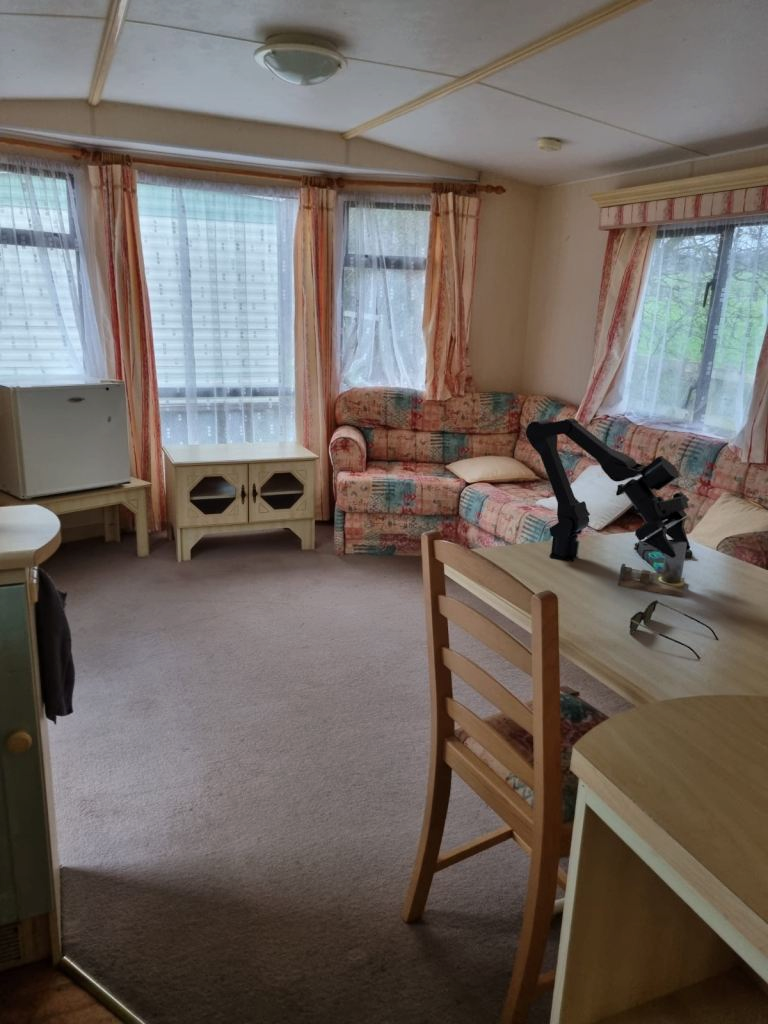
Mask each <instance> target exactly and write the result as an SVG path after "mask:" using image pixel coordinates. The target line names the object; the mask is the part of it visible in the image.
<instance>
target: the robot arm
mask: <svg viewBox="0 0 768 1024" xmlns="http://www.w3.org/2000/svg"><path fill="white" fill-rule="evenodd" d="M559 435H565V436H566V437H567V438H568V439H570V440H571V441H572V442H574V443H575V444H576V445H577V446H578V447H579V448H581V449H582V450H583V451H585V452H586V453H587V454H588V455H590V456H591V457H592V458H594V459H595V460H596V461H597V463H598V464H599V465H600V468H601V470H602V471H603V472H604V473H605V475H607V477H609V479H610V480H611V481H613V482H616V483H617V482H623V481H625V480H628V481H627V482H626V483H624V484H622V483H621V484H618V485H617V489H616V493H615V496H617V497H618V496H622V495H624V494H625V495H626V496H627V498H628V499H629V501H630V502H631V504H632V506H634V508H635V510H634V511H633V512H634V513H635V515H640V517H641V518H642V519H643V521H644V522H645V523H644V524H643V525H641V526H639V527H638V528H637V529H635V533H634V535H635V537H636V538H637V540H638V542H639V541H643V542H644V543H647V544H649V545H651V546H653V547H655V548H657V549H658V550H660V551H662V552H663V553H665V554H667V555H668V556H670V557H671V558H674V557H675V556H676V554H675V552H674V550H673V548H672V546H671V544H670V542H669V540H670V539H674V540H681V541H684V542H686V543H687V547H686V550H688V549H690V548H691V545H690V542H689V539H688V536H687V533H686V530H685V523H686V521H687V516H688V514H687V513H686V511H685V510H686V509H689V508H690V506H689V504H688V502H690V498H689V497H687V495H686V494H684V493H683V492H682V491H680V492H676V493H673V495H672V497H671V498H669V499H664V498H663V497H662V496H660V495H659V496H657V495H656V494H655V493H654V491H653V490H656V491H661V489H663V488H664V487H666V486H667V485H669V484H671V483H672V482H674V481H675V480H677V479H678V478H679V476H680V474H679V471H678V470H677V469H678V468H677V467H676V466H675V464H672V463H671V461H669V460H667V459H666V458H665V457H663V455H660V456H657V457H656V458H654V459H653V461H652V462H650V463H649V464H647V465H645V464H642V463H638V462H637V460H635V459H634V458H632V457H631V456H629V455H627V454H625V453H624V452H621V451H619V450H616V449H613V448H611V447H610V446H608V445H607V444H606V443H605V442H603V441H602V440H601V439H600V438H598V437H597V436H596V435H595V434H593V433H592V432H591V431H589V430H588V429H586V427H584V426H583V425H582V424H581V423H579V421H578V420H577V419H575V418H572V417H570V418H565V419H564V418H563V419H562V420H559V421H551V420H549V419H541V420H536V421H531V422H530V423H529V424H528V425H527V426H526V428H525V436H526V438H527V440H528V442H529V444H530V445H531V447H532V449H533V450H535V451H536V453H538V455H539V457H540V460H541V462H542V464H543V467H544V469H545V472H546V475H547V478H548V480H549V483H550V486H551V488H552V491H553V495H554V497H555V499H556V502H557V507H556V508H557V511H556V516H557V517H556V518H557V521H558V522H557V523H555V524H554V525H552V527H550V528H549V534H550V537H552V541H551V542H552V543H551V550H550V551H551V552H550V554H549V558H552V557H553V559H558V558H559V559H558V560H564V559H566V560H565V561H569V560H573V561H574V560H575V559H576V558H577V557H578V555H579V549H580V540H578V538H579V535H581V534H582V531H583V530H584V529H586V528H587V527H588V525H589V523H590V517H589V516H590V515H591V513H590V512H589V511H588V509H587V504H586V502H585V501H584V500H583V501H581V502H580V501H579V500H578V498H576V497H575V494H574V492H573V489H572V486H571V484H570V480H569V478H568V475H567V473H566V470H565V467H564V464H563V462H562V459H561V456H560V453H559V451H558V436H559ZM639 476H641V477H639ZM635 477H636V478H637V477H639V478H638V479H636V478H635ZM629 479H630V480H629ZM667 536H668V537H670V539H668V537H667ZM574 558H575V559H574Z"/></svg>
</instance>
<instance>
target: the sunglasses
mask: <svg viewBox="0 0 768 1024" xmlns="http://www.w3.org/2000/svg"><path fill="white" fill-rule="evenodd" d="M648 604H649V605H647V607H646V608H645V609H644V611H643V612H642V611H637V612H636V613H635V614H633V615H632V616H631V618H630V620H629V622H630V623H629V635H631V634H632V632H633V631H634V632H636V631H637V630H638V627H639V626H640V627H642V628H644V629H646V630H648V631H650V632H651V633H652V632H653V633H654V634H656V635H659V636H661V637H663V638H665V639H668V640H670V641H673V642H675V643H676V644H679V645H682V646H683V647H686V648H688V649H689V650H690V651H691V652H692V653H693V654H694V655H695V656H696V657H697V659H701V657H700V655H699V654H698V653H697V652H696V651H695V650H694V649H693V648H692V647H691V646H689V645H687V644H685V643H683V642H681V641H678V640H676V639H674V638H672V637H669V636H667V635H664V634H662V633H660V632H658V631H656V630H654V629H651V628H649V627H648V626H645V625H644V623H645V622H646V623H648V622H649V621H650V620H651V618H652V616H653V614H654V612H655V611H656V607H657V604H658V605H660V606H662V607H665V608H669V609H670V610H672V611H675V612H677V613H679V614H681V615H683V616H685V617H687V618H689V619H691V620H692V621H693V620H694V621H695V622H697V623H699V624H701V625H703V626H705V627H706V628H707V629H709V631H711V633H712V635H713V637H714V638H715V639H716V640H717V641H719V637H718V635H717V634H716V633H715V631H714V629H712V628H711V627H710V626H709V625H707V624H705V623H704V622H702V621H700V620H698V619H696V618H694V617H692V616H690V615H688V614H686V613H684V612H681V611H679V610H677V609H676V608H673V607H671V606H669V605H667V604H665V603H664V602H660V601H659V600H654V601H652V602H650V603H648ZM648 620H649V621H648ZM642 621H643V624H642V623H641V622H642ZM646 623H645V624H646ZM636 629H637V630H636ZM634 632H633V633H634Z"/></svg>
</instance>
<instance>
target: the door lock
mask: <svg viewBox="0 0 768 1024" xmlns="http://www.w3.org/2000/svg"><path fill="white" fill-rule="evenodd" d="M661 576H662V574H659V573H658V572H652V571H651V570H646V569H636V568H635V569H634V568H632V567H631V566H630V567H629V566H626V563H622V564H621V566H620V569H619V578H618V580H617V586H623V587H628V588H632V589H639V590H644V591H648V592H649V591H650V592H655V593H661V594H665V595H671V596H676V597H683V592H684V587H685V586H684V585H685V577H681V582H680V583H678V584H672V583H667V582H664V581H662V580H661Z"/></svg>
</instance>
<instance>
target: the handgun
mask: <svg viewBox="0 0 768 1024" xmlns="http://www.w3.org/2000/svg"><path fill="white" fill-rule="evenodd" d="M643 541H644V540H641V541H639V540H638V542H635V543H634V547H633V550H634V551H636V553H638V555H639V557H640V558H641V559H642V560H645V561H646V562H648V563H649V564H650V566H651V567H652V568H653V569H654V571H656V573H659V574H662V570H663V563H664V557H665V553H663V552H662V551H660V550H658V549H657V548H655V547H653V546H651V545H649V544H647V543H644V542H643ZM692 558H693V551H692V550H691V549H690V548H689V549H688V550H686V553H685V559H687V560H688V559H689V560H690V559H692Z"/></svg>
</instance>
